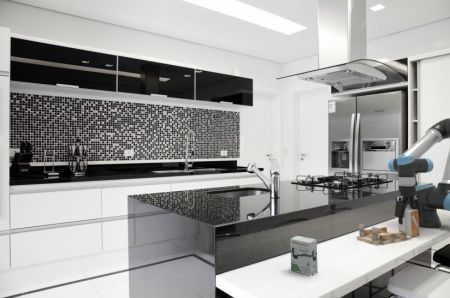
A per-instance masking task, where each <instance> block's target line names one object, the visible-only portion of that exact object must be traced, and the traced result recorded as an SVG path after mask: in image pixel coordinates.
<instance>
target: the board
mask: <svg viewBox="0 0 450 298" xmlns="http://www.w3.org/2000/svg"><path fill="white" fill-rule="evenodd" d="M356 240H357V241H361V242H365V243H367V244H371V245H374V246H381V245H386V244H393V243H398V242H399V243H400V242H405V241H411V240H412V237H411V236H407V233H406V232H399V231H398V232H393V231H390V230H389V231H388V228H387V227H386V226H383V227H377V226H372V227H371V228H369V229H365V224H364V223H363V224H362V223H359V224H358V236H357V235H356Z"/></svg>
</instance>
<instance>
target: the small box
mask: <svg viewBox="0 0 450 298" xmlns="http://www.w3.org/2000/svg"><path fill="white" fill-rule="evenodd" d="M403 218H405V231H401V230H399V229H398V232H406V233H407V236H411V238H414V237H417V236H420V227H419V215H418V210H415V209H411V208H407V207H406V209H405V213H404V216H403Z"/></svg>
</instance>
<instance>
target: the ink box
mask: <svg viewBox="0 0 450 298" xmlns="http://www.w3.org/2000/svg"><path fill="white" fill-rule="evenodd" d="M289 240H290V248H289V249H290V270H291V271H292V270H295V271H294V272H296V271H299V272H303V273H307V274H310V275H312V274H313V275H315V274H317V273H319V272H318V271H319V270H318V242H317V241H318V240H317V239H315V238H311V237H306V236H299V235H296V236H293V237H291V238H290V239H289ZM299 272H298V273H299ZM316 272H317V273H316ZM303 273H302V274H303ZM314 273H315V274H314ZM310 275H309V276H310ZM313 275H312V276H313Z"/></svg>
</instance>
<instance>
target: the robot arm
mask: <svg viewBox="0 0 450 298" xmlns="http://www.w3.org/2000/svg"><path fill="white" fill-rule="evenodd" d="M446 139H449V140H450V117H449V118H445V119H441V120H439V121H438V122H436V123H434V124H432V126H430V127H429V128H428V129H427V130H426V131H425V134H424V135H423V136H422V137H420V138H419V139H418V140H417V141H416V142H414V143H413V145H411V146H410V147H409V148H408V149H407V150H405V151H404V152H403V153H402V154H401V155H398V156H397V158H392V159H390V160H389V161H388V164H387V166H388V169H389V170H390V171H391V172H394V173H397V175H398V176H397V178H398V185H399V186H398V193H399V194H400V196H396V197H395V209H394V216H395V217H397V218H398V220H397V221H398V231H399V230H401V231H405V218H403V216H404V213H405V209H406V208H407V206H409V207H410V209H415V210H418V215H419V228H421V227H422V228H427V229H428V228H429V229H436V228H441V227H442V221H441V219H440V216H439V213H438V211H437V210H442V211H443V210H444V211H448V212H450V148H449V150H448V154H447V157H446V162H445V166H444V171H443V176H442V178H441V181H439V182H438V183H437V186H436V184H429V185H428V184H427V185H416V174H426V173H430V172H432V171H433V169H434V162H433V161H432V159H430V158H425V157H424V158H423V157H422V156H423V155H425V153H427V152H428V151H429V150H430V149H431V148H433V146H434V145H435V144H437V143H439V144H440V143H441V142H442V141H444V140H446ZM421 157H422V158H421Z"/></svg>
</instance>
